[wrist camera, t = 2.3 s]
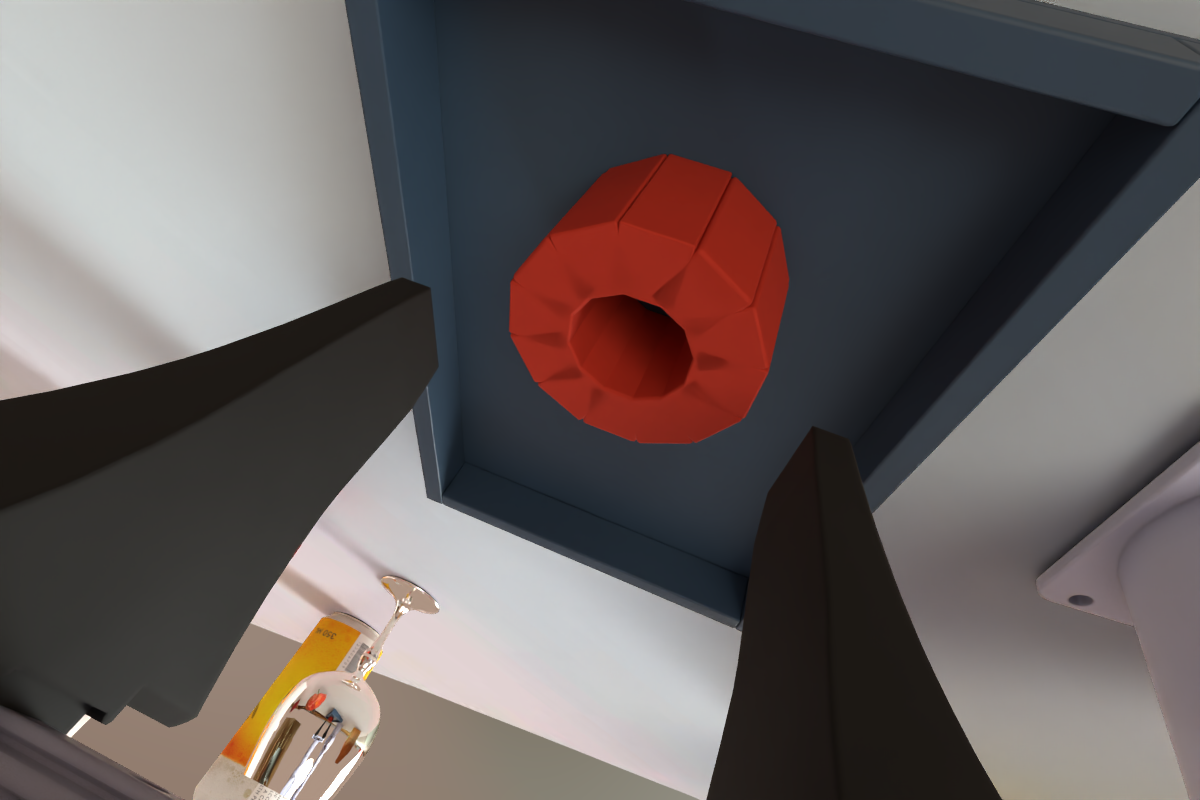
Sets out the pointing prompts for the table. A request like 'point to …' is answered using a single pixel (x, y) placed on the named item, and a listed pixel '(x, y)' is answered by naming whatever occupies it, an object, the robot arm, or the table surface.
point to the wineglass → (328, 719)
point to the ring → (654, 302)
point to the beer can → (329, 647)
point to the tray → (802, 211)
